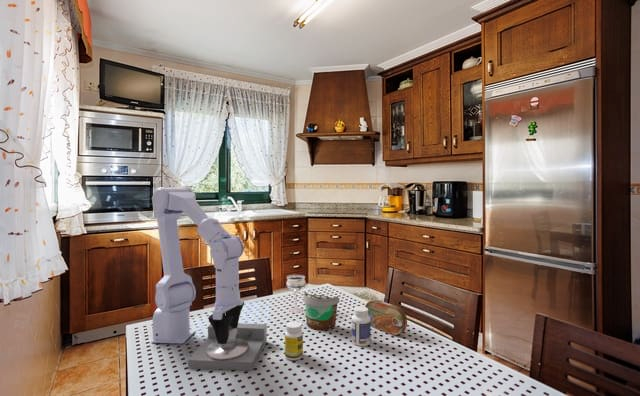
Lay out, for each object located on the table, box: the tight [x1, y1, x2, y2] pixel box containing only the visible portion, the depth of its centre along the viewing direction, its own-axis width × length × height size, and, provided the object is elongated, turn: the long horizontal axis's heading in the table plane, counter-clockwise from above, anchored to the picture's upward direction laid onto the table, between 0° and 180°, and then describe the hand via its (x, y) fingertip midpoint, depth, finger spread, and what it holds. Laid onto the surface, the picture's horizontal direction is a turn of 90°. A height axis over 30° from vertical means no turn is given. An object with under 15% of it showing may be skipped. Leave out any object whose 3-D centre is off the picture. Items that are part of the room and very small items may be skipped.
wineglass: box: [286, 274, 306, 314], centre depth 118 cm, size 7×7×12 cm
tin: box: [364, 299, 408, 336], centre depth 102 cm, size 15×3×8 cm, turn 41°
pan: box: [207, 338, 248, 360], centre depth 85 cm, size 10×10×1 cm
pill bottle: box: [351, 306, 372, 347], centre depth 94 cm, size 5×5×10 cm
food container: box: [302, 291, 340, 331], centre depth 103 cm, size 12×6×10 cm, turn 68°
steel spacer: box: [221, 326, 237, 351], centre depth 85 cm, size 4×4×4 cm
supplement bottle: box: [284, 321, 304, 361], centre depth 86 cm, size 5×5×8 cm
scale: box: [187, 322, 268, 371], centre depth 87 cm, size 16×15×5 cm
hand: (227, 336), depth 85 cm, fingers open, 7 cm apart
